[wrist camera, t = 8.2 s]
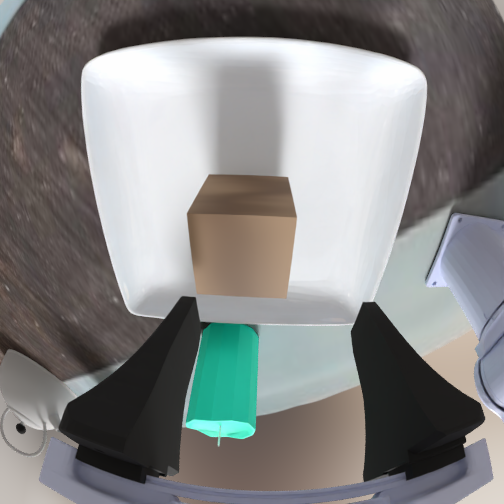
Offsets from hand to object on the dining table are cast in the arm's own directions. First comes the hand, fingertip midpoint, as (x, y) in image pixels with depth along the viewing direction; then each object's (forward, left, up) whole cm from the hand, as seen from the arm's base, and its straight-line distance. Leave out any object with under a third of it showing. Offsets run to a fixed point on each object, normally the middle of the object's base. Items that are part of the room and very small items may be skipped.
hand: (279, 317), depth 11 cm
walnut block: (+2, -2, -7) cm, 7 cm away
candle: (+4, +15, -10) cm, 18 cm away
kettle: (+52, +43, -10) cm, 69 cm away
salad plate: (+2, -2, -11) cm, 11 cm away
